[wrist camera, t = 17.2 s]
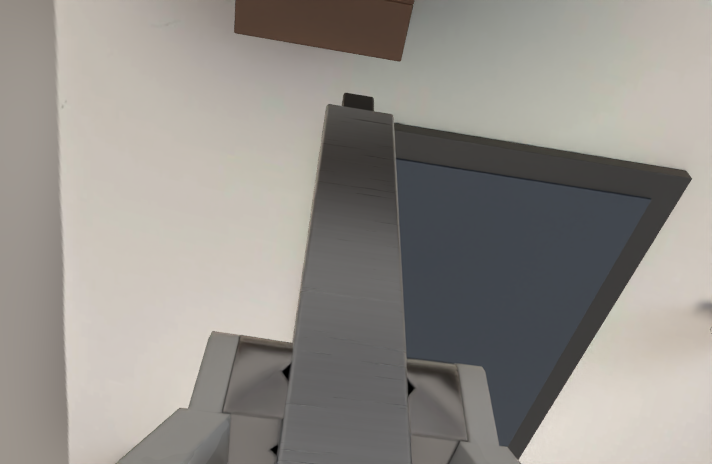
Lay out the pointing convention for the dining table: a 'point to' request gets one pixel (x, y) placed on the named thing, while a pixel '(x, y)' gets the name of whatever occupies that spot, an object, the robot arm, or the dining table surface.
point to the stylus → (350, 303)
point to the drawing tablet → (518, 258)
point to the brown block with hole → (330, 24)
